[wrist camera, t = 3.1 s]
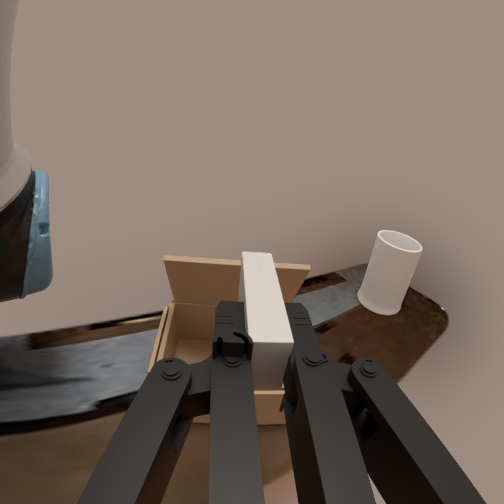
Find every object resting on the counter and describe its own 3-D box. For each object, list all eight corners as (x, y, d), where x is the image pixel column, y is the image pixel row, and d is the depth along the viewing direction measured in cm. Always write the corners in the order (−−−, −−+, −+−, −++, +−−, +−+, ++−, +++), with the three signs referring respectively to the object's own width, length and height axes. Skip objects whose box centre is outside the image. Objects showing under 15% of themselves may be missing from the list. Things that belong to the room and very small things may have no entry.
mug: (390, 282, 55) (408, 228, 49) (418, 306, 48) (442, 249, 43) (347, 291, 51) (366, 230, 45) (377, 320, 44) (402, 254, 38)
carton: (153, 418, 25) (144, 385, 22) (169, 336, 36) (166, 299, 34) (302, 423, 27) (317, 391, 24) (285, 342, 38) (294, 307, 35)
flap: (174, 302, 33) (163, 260, 25) (175, 297, 33) (164, 254, 25) (286, 309, 34) (310, 269, 26) (286, 304, 35) (309, 263, 27)
